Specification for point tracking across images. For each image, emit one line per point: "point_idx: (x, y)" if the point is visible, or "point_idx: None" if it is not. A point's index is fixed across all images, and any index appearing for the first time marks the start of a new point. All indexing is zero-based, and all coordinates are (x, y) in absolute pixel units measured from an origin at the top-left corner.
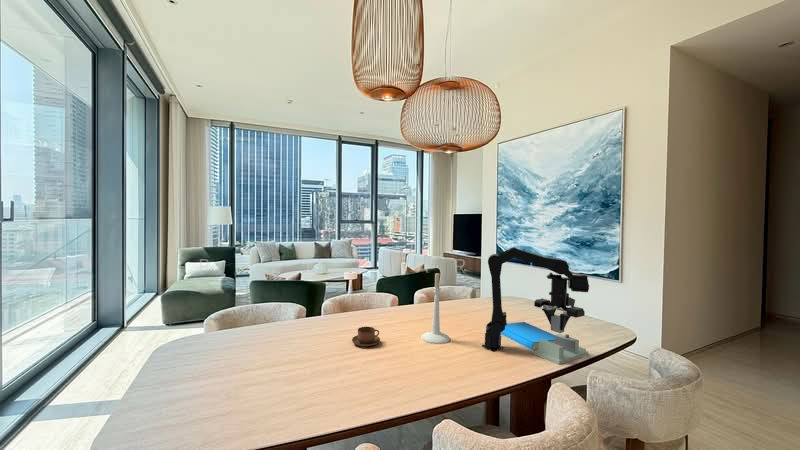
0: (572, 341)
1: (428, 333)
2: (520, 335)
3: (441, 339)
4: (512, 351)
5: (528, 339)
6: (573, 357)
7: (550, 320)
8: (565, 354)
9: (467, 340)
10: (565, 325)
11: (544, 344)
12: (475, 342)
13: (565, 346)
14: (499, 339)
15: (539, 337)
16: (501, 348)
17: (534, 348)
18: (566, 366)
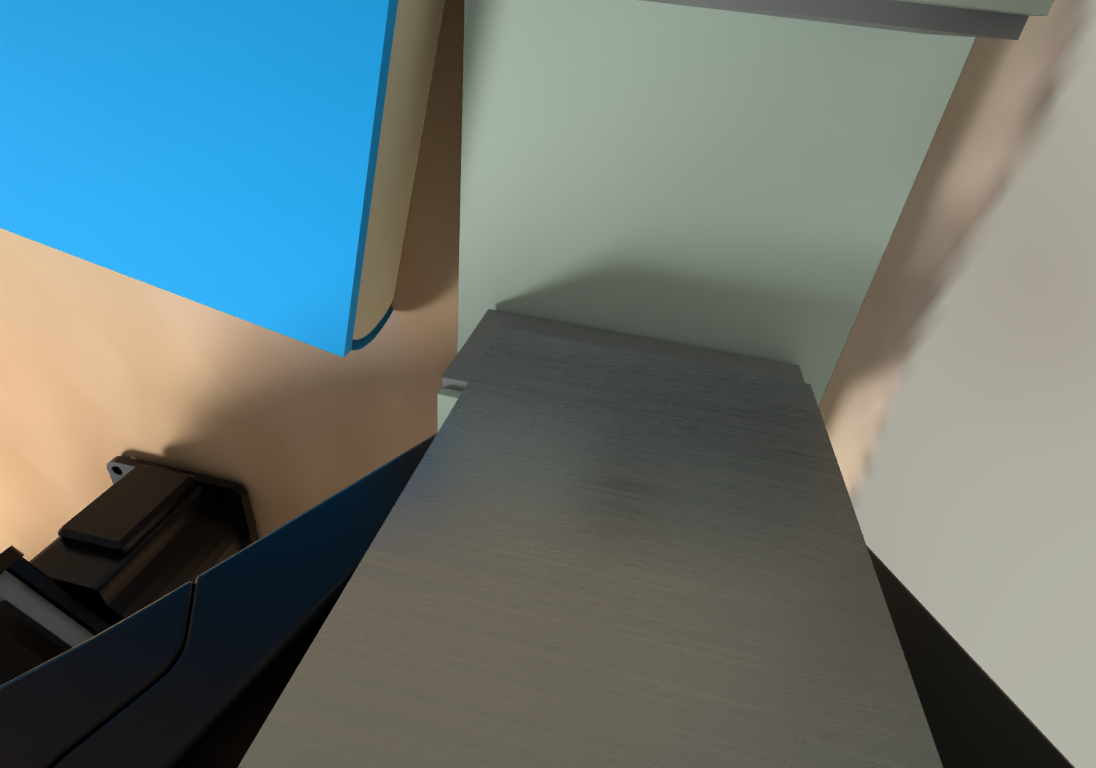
0: (940, 13)
1: None
2: (62, 234)
3: None
4: (323, 478)
5: (232, 299)
6: (911, 168)
7: None
8: (785, 205)
9: (12, 518)
10: (950, 654)
11: None
12: (62, 512)
13: (730, 9)
14: (175, 581)
15: (207, 38)
16: (247, 512)
17: (385, 295)
18: (868, 452)
